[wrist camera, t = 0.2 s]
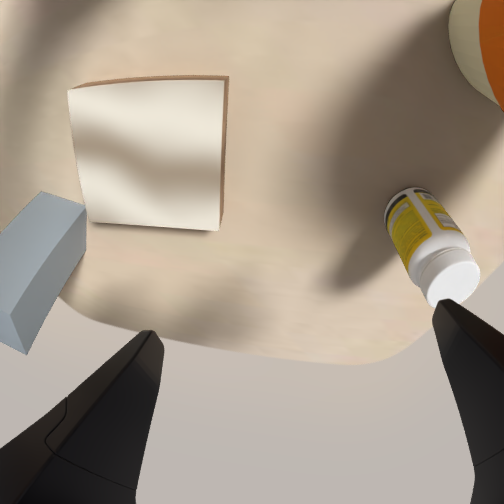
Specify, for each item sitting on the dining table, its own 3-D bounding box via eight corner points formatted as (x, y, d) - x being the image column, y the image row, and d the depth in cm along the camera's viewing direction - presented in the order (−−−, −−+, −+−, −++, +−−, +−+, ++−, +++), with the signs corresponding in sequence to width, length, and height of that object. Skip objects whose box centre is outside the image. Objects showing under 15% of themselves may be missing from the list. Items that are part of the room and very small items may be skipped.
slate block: (41, 191, 22) (-42, 286, 13) (87, 206, 23) (9, 314, 14) (43, 234, 25) (-22, 329, 16) (86, 249, 26) (26, 355, 17)
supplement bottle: (387, 243, 24) (419, 322, 18) (377, 195, 22) (418, 272, 15) (437, 227, 23) (481, 299, 16) (433, 178, 20) (489, 247, 14)
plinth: (86, 82, 17) (67, 90, 15) (229, 76, 17) (223, 81, 15) (102, 204, 23) (88, 221, 21) (223, 211, 23) (219, 231, 21)
